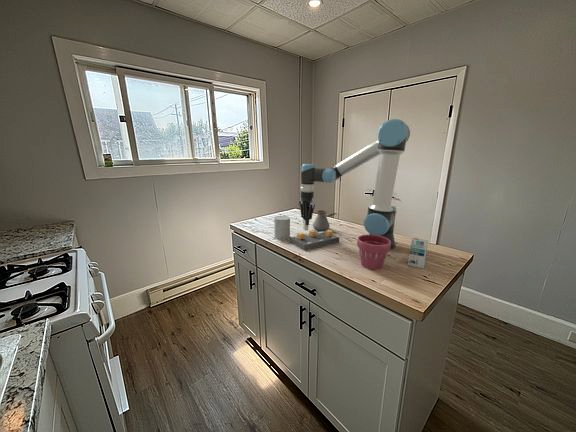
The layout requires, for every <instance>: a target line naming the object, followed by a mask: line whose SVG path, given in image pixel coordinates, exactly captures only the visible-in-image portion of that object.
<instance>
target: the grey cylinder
mask: <svg viewBox="0 0 576 432" xmlns="http://www.w3.org/2000/svg"><path fill="white" fill-rule="evenodd" d="M273 218H274V224H273V225H274V227H273V228H274V239H275V240H278V241H279V240H280V241H285V240H290V237H291V217H290V216H286V215H276V216H274V217H273Z"/></svg>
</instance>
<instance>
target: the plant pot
mask: <svg viewBox="0 0 576 432" xmlns="http://www.w3.org/2000/svg"><path fill="white" fill-rule="evenodd" d="M356 240H357V241H356V242H357V243H356V246H357V248H358V250H359V252H358V253H359V258H360V264H361V266H362V267H363V268H364V269H367V270H372V271H378V270H381V269H382V268H383V266H384V262H385V261H386V257H387V255H388V253H389V252H390V251H391V249H390V248H391V241H390V240H389V239H387V238H385V237H382V236H378V235H369V234H362V235H360V236H358V237H357V239H356Z"/></svg>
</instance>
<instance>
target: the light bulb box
mask: <svg viewBox="0 0 576 432" xmlns="http://www.w3.org/2000/svg"><path fill="white" fill-rule="evenodd" d="M428 242H429V240H428V239H423V238H418V237H412V239H411V242H410V248H409V255H408V261H407V262H408V263H407V266H411V267H415V268H419V269H424V268H425V266H426V265H425V264H426V259H427V252H428V244H429V243H428Z"/></svg>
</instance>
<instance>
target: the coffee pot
mask: <svg viewBox="0 0 576 432" xmlns="http://www.w3.org/2000/svg"><path fill="white" fill-rule="evenodd" d="M316 212H317V214H316V217H315V220H314V222H313V224H312V227H313V230H315V231H317V232H320V231H327V230H330V223H329V221H328V217H332V216H336V217H337V216H338V215H339V214H337V213H336V212H334V213H330V214H328V215H326V214H327V212H328V211H326V210H324V209H323V210H321V209H319V210H316Z"/></svg>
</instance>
